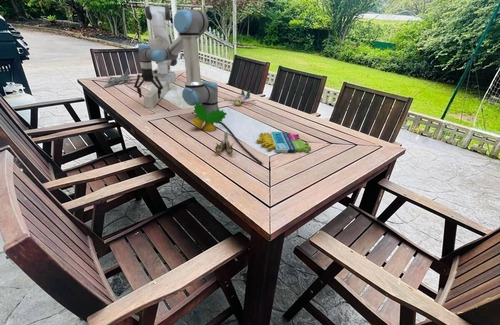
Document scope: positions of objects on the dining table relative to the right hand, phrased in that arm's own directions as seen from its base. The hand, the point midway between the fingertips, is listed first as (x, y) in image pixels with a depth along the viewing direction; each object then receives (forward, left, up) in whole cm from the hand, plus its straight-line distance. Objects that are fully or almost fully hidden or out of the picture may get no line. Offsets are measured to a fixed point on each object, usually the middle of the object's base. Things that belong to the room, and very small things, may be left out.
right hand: (150, 97), depth 195 cm
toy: (+5, -72, -6) cm, 73 cm away
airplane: (+72, +31, -6) cm, 79 cm away
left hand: (+45, -10, -3) cm, 47 cm away
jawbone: (-84, -41, -6) cm, 94 cm away
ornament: (-51, -37, -6) cm, 64 cm away
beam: (+22, -5, -6) cm, 24 cm away
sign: (-78, -76, -6) cm, 109 cm away
